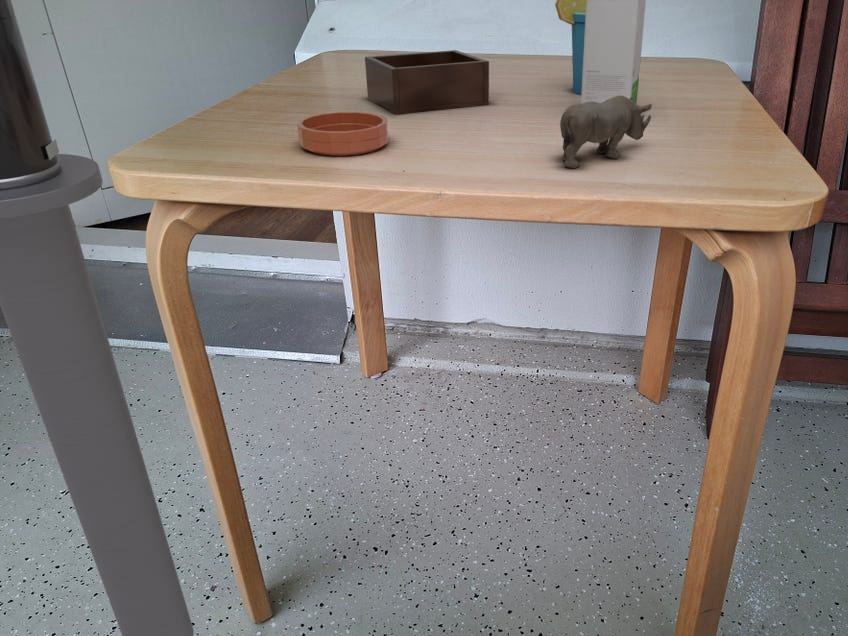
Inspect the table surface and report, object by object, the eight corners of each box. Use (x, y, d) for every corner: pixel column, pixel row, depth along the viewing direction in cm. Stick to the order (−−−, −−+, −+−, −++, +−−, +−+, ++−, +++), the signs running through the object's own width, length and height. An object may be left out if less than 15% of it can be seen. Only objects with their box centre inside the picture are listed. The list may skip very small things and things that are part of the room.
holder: (394, 114, 95) (391, 69, 93) (367, 98, 104) (364, 56, 101) (488, 104, 100) (489, 61, 98) (456, 90, 109) (455, 50, 106)
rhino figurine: (663, 148, 82) (671, 91, 78) (574, 171, 74) (578, 109, 71) (635, 140, 84) (641, 85, 81) (546, 162, 77) (549, 102, 74)
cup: (617, 82, 114) (627, -28, 106) (650, 90, 108) (663, -25, 101) (541, 90, 108) (546, -25, 101) (572, 100, 103) (579, -21, 95)
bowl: (313, 161, 77) (311, 136, 76) (291, 140, 84) (288, 116, 83) (400, 150, 81) (399, 126, 79) (371, 131, 88) (370, 108, 87)
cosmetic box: (628, 123, 91) (642, -19, 83) (575, 119, 93) (584, -20, 85) (637, 108, 98) (651, -24, 90) (587, 105, 100) (597, -25, 92)
